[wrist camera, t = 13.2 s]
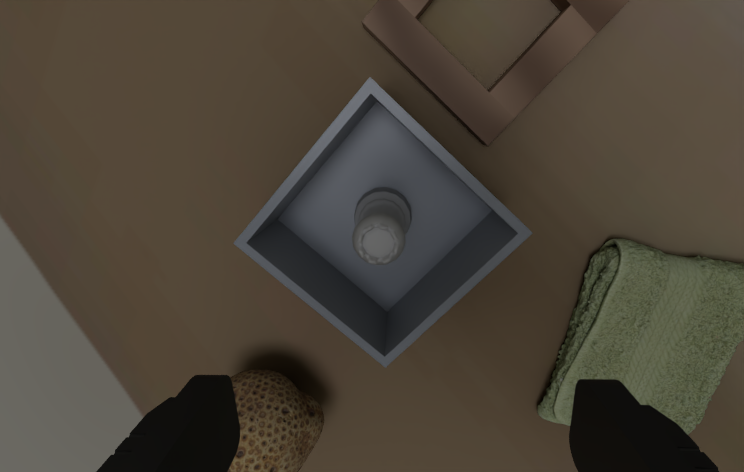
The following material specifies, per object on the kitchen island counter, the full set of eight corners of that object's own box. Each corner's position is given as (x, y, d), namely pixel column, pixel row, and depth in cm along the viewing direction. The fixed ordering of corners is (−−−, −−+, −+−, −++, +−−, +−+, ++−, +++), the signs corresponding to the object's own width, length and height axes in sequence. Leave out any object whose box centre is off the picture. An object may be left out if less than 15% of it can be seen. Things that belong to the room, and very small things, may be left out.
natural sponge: (214, 364, 35) (146, 452, 26) (295, 329, 34) (255, 410, 24) (263, 436, 37) (217, 543, 28) (342, 407, 36) (322, 510, 26)
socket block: (490, -135, 23) (496, -152, 22) (616, 7, 25) (629, 0, 24) (363, 27, 26) (361, 21, 25) (483, 144, 28) (487, 145, 27)
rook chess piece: (418, 232, 30) (425, 269, 22) (365, 247, 30) (353, 288, 23) (402, 178, 29) (404, 197, 21) (347, 195, 29) (329, 219, 22)
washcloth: (527, 409, 35) (540, 437, 32) (593, 230, 30) (615, 242, 27) (667, 436, 35) (693, 466, 32) (756, 260, 30) (798, 276, 27)
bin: (376, 88, 27) (369, 76, 21) (501, 208, 29) (532, 233, 23) (269, 217, 31) (233, 243, 24) (387, 318, 33) (385, 367, 26)
